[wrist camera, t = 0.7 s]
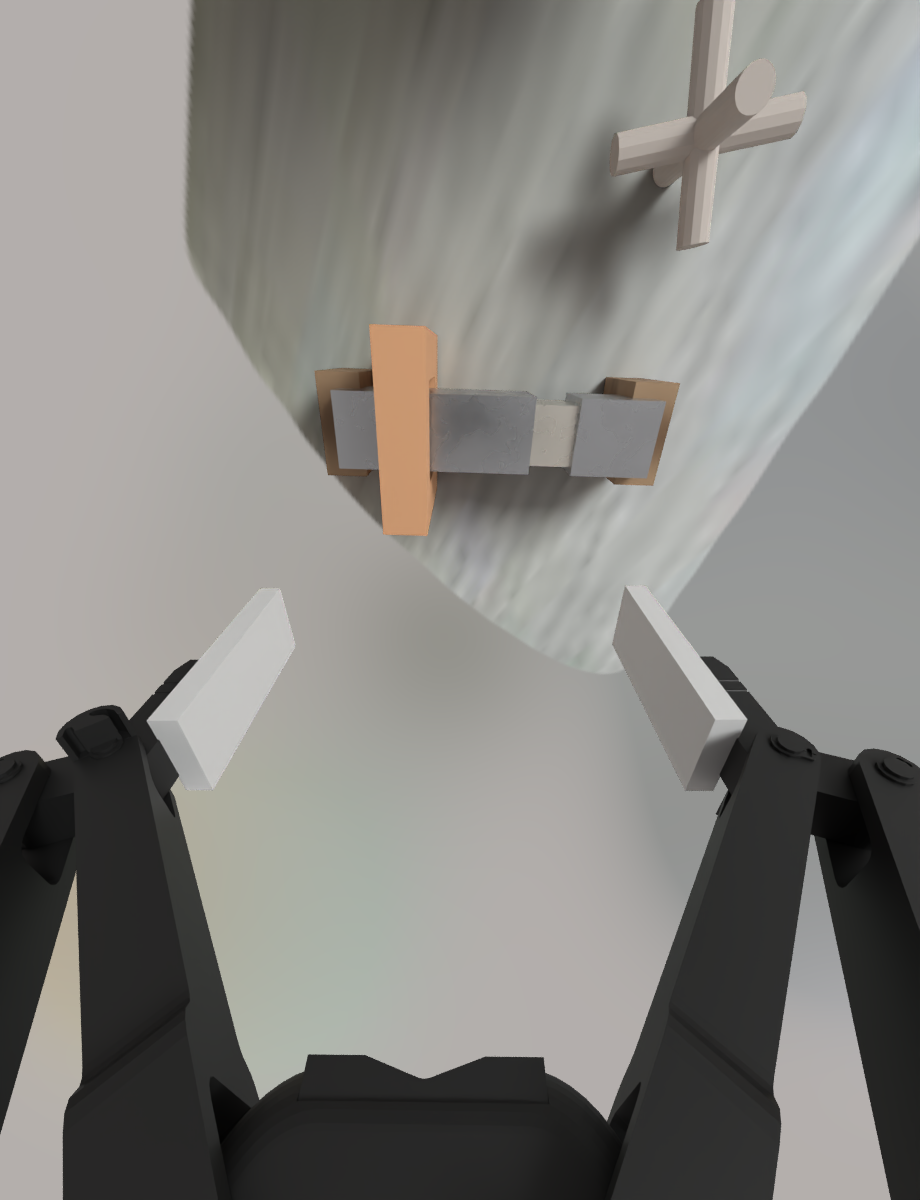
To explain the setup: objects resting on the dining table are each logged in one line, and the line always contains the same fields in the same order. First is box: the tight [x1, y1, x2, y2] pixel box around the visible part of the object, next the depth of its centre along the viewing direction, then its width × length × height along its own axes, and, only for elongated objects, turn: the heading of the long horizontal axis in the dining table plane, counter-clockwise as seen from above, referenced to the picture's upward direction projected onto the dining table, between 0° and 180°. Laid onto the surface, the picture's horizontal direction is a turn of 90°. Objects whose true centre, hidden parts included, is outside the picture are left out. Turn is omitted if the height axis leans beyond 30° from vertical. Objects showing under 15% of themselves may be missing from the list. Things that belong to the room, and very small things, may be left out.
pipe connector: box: [610, 0, 807, 251], centre depth 24 cm, size 10×10×10 cm
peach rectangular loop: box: [369, 324, 437, 536], centre depth 31 cm, size 12×3×12 cm, turn 178°
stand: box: [315, 368, 680, 486], centre depth 33 cm, size 7×25×7 cm, turn 88°
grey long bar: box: [330, 386, 666, 478], centre depth 31 cm, size 5×22×5 cm, turn 88°
